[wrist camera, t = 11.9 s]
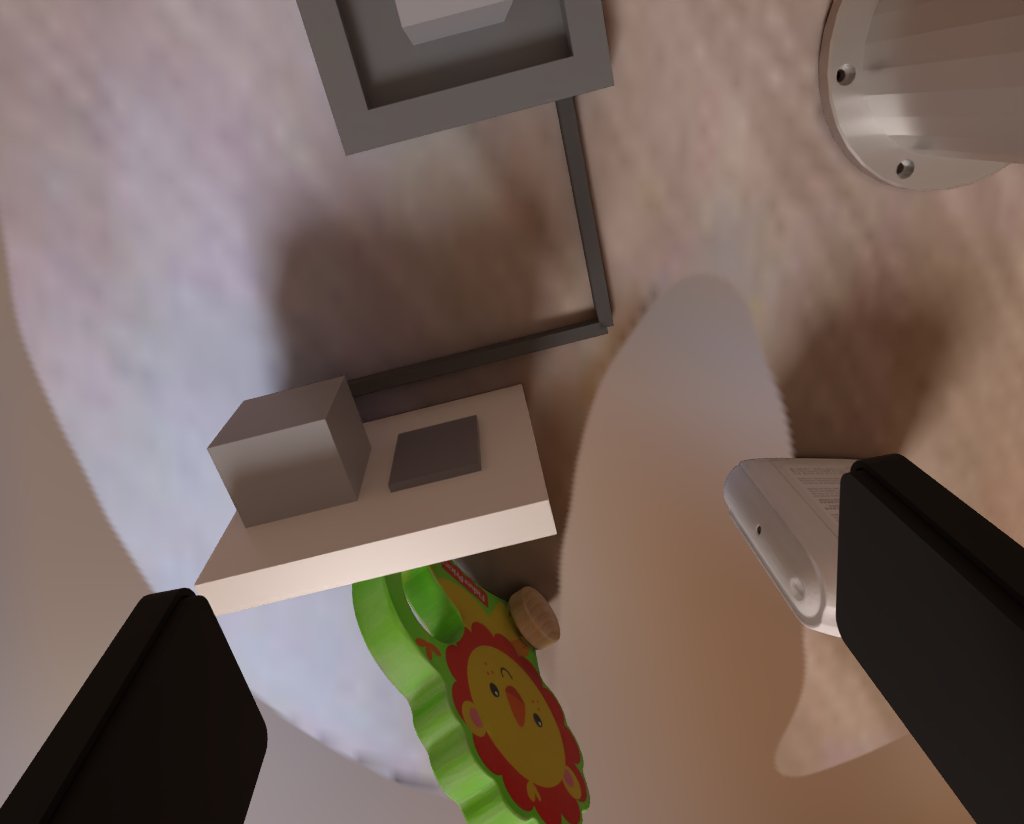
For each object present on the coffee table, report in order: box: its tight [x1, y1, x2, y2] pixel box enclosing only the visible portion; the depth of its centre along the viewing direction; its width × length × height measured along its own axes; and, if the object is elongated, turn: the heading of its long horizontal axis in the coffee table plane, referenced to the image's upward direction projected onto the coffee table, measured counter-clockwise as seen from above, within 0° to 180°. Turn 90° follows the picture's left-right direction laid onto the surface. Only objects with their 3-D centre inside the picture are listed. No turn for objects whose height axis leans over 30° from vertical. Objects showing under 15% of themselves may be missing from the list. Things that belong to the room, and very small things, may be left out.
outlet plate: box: [194, 376, 557, 616], centre depth 30 cm, size 14×6×12 cm, turn 103°
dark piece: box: [347, 97, 614, 397], centre depth 31 cm, size 16×11×4 cm
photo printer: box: [724, 458, 857, 638], centre depth 34 cm, size 10×4×12 cm, turn 87°
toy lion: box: [352, 560, 590, 824], centre depth 34 cm, size 16×5×15 cm, turn 40°
